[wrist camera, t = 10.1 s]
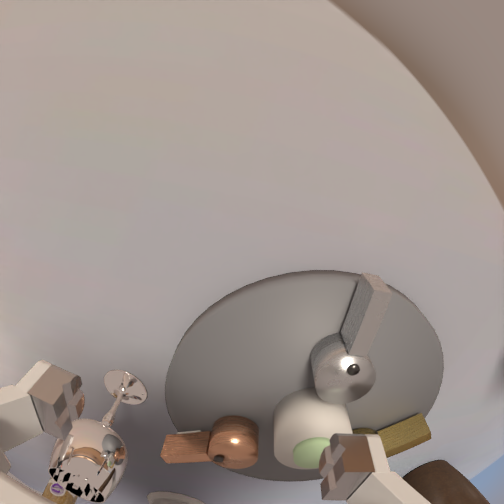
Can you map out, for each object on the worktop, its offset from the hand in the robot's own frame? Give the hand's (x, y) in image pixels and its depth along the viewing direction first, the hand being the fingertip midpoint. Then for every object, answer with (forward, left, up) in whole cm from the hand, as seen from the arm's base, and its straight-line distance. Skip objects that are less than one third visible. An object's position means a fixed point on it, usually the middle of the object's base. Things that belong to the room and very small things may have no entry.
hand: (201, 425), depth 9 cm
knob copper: (+14, -7, -12) cm, 19 cm away
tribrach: (+14, +2, -14) cm, 20 cm away
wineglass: (+9, -14, -14) cm, 22 cm away
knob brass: (+19, +7, -12) cm, 23 cm away
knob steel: (+6, +6, -12) cm, 14 cm away
